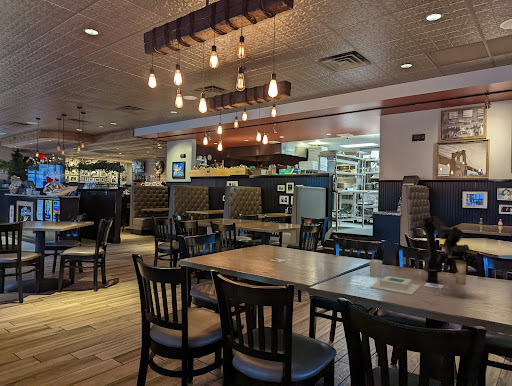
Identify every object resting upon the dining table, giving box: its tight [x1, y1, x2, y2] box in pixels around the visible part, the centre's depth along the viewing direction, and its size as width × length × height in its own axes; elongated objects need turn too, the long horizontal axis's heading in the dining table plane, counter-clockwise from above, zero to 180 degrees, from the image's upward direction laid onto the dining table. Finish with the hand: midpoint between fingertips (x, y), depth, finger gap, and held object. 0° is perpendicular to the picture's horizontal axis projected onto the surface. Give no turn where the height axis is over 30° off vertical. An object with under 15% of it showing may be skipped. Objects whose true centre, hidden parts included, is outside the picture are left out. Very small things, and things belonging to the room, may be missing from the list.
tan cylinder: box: [455, 261, 467, 287], centre depth 184 cm, size 5×5×12 cm
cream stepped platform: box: [369, 275, 422, 296], centre depth 202 cm, size 24×22×4 cm
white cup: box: [369, 259, 383, 278], centre depth 229 cm, size 8×8×10 cm
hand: (462, 272), depth 183 cm, fingers closed on tan cylinder, 5 cm apart
